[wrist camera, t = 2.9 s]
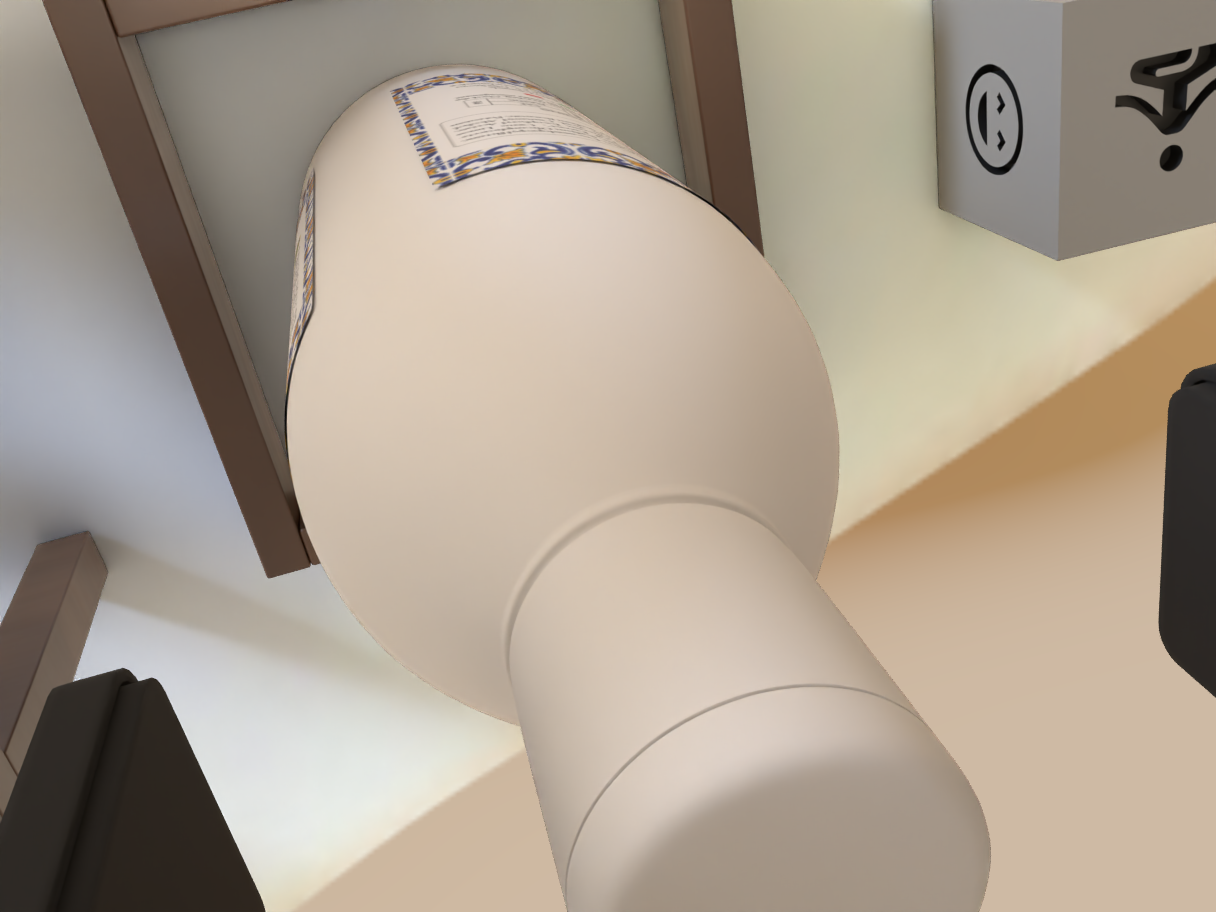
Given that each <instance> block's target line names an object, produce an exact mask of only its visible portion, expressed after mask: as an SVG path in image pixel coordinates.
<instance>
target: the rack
mask: <svg viewBox="0 0 1216 912" xmlns="http://www.w3.org/2000/svg"><path fill="white" fill-rule="evenodd" d="M287 1H291V0H42V2H43V4H44V7H45V9H46V12H47V14H48V17H49V20H50V22H51V25H52V27H53V30H54V32H55V35H56V38H57V40H58V43H59V45H60V48H61V50H62V53H63V56H64V58H65V61H66V63H67V66H68V68H69V71H70V73H71V76H72V79H73V81H74V84H75V86H76V89H77V91H78V94H79V97H80V99H81V102H82V104H83V107H84V109H85V112H86V114H87V117H88V120H89V122H90V125H91V127H92V130H93V132H94V135H95V138H96V140H97V143H98V145H99V148H100V150H101V153H102V155H103V158H104V161H105V163H106V166H107V168H108V171H109V173H110V176H111V179H112V181H113V184H114V186H115V189H116V191H117V194H118V196H119V199H120V202H121V204H122V207H123V209H124V212H125V214H126V217H127V220H128V222H129V225H130V227H131V230H132V232H133V235H134V238H135V240H136V243H137V245H138V248H139V250H140V253H141V255H142V258H143V261H144V263H145V266H146V268H147V271H148V273H149V276H150V279H151V281H152V284H153V286H154V289H155V291H156V294H157V296H158V299H159V302H160V304H161V307H162V309H163V312H164V314H165V317H166V320H167V322H168V325H169V327H170V330H171V332H172V335H173V337H174V340H175V343H176V345H177V348H178V350H179V353H180V355H181V358H182V361H183V363H184V366H185V368H186V371H187V373H188V376H189V378H190V381H191V384H192V386H193V389H194V391H195V394H196V396H197V399H198V402H199V404H200V407H201V409H202V412H203V414H204V417H205V420H206V422H207V425H208V427H209V430H210V432H211V435H212V437H213V440H214V443H215V445H216V448H217V450H218V453H219V455H220V458H221V461H222V463H223V466H224V468H225V471H226V473H227V476H228V478H229V481H230V484H231V486H232V489H233V491H234V494H235V496H236V499H237V502H238V504H239V507H240V509H241V512H242V514H243V517H244V519H245V522H246V525H247V527H248V530H249V532H250V535H251V537H252V540H253V543H254V545H255V548H256V550H257V553H258V555H259V558H260V560H261V563H262V566H263V568H264V571H265V573H266V576H267V577H268V578H273V577H276V576H280V575H283V574H287V573H290V572H294V571H298V570H301V569H305V568H308V567H310V566H311V564H312V565H317V564H320V563H321V562H320V560H319V558H318V556H317V554H316V552H315V549H314V547H313V545H312V543H311V540H310V538H309V535H308V533H307V530H306V527H305V524H304V522H303V518H302V515H301V512H300V509H299V505H298V502H297V498H296V494H295V490H294V486H293V482H292V478H291V474H290V470H289V465H288V460H287V457H286V454H285V452H284V449H283V446H282V443H281V441H280V438H279V435H278V432H277V429H276V427H275V424H274V421H273V418H272V416H271V413H270V410H269V407H268V404H267V402H266V399H265V396H264V393H263V390H262V388H261V385H260V382H259V379H258V377H257V374H256V371H255V368H254V365H253V363H252V360H251V357H250V354H249V352H248V349H247V346H246V343H245V340H244V338H243V335H242V332H241V329H240V327H239V324H238V321H237V318H236V315H235V313H234V310H233V307H232V304H231V301H230V299H229V296H228V293H227V290H226V288H225V285H224V282H223V279H222V276H221V274H220V271H219V268H218V265H217V263H216V260H215V257H214V254H213V251H212V249H211V246H210V243H209V240H208V238H207V235H206V232H205V229H204V226H203V224H202V221H201V218H200V215H199V213H198V210H197V207H196V204H195V201H194V199H193V196H192V193H191V190H190V187H189V185H188V182H187V179H186V176H185V174H184V171H183V168H182V165H181V162H180V160H179V157H178V154H177V151H176V149H175V146H174V143H173V140H172V137H171V135H170V132H169V129H168V126H167V124H166V121H165V118H164V115H163V112H162V110H161V107H160V104H159V101H158V98H157V96H156V93H155V90H154V87H153V85H152V82H151V79H150V76H149V73H148V71H147V68H146V65H145V62H144V60H143V57H142V54H141V51H140V48H139V46H138V43H137V40H136V37H135V35H136V34H140V33H145V32H149V31H154V30H159V29H163V28H168V27H172V26H177V25H181V24H186V23H191V22H195V21H200V20H204V19H209V18H213V17H218V16H223V15H227V14H232V13H236V12H241V11H246V10H250V9H255V8H259V7H264V6H268V5H273V4H278V3H282V2H287ZM658 1H659V8H660V14H661V21H662V27H663V33H664V40H665V46H666V53H667V59H668V66H669V72H670V78H671V85H672V91H673V98H674V104H675V111H676V117H677V123H678V130H679V136H680V143H681V149H682V156H683V162H684V168H685V175H686V181H687V187H688V188H690V189H691V190H693V191H694V192H696V193H697V194H698V195H700V196H701V197H703V198H704V199H706V200H707V201H709V202H710V203H711V204H713V205H714V206H716V207H717V208H718V209H719V210H721V211H722V212H723V213H724V214H726V215H727V216H728V217H729V218H730V219H731V220H732V221H734V222H735V223H736V224H737V225H738V226H739V227H740V228H741V229H742V231H743V232H744V233H745V234H746V235H747V236H748V237H749V239H750V240H751V241H752V242H753V244H754V245H755V246H756V247H757V249H758V250H759V251H760V253H761V254H762V256H763V257H764V250H763V243H762V235H761V227H760V219H759V211H758V203H757V196H756V188H755V180H754V172H753V164H752V156H751V149H750V141H749V133H748V125H747V117H746V110H745V102H744V94H743V86H742V78H741V70H740V63H739V55H738V47H737V39H736V31H735V23H734V16H733V8H732V0H658ZM107 575H108V571H107V569H106V567H105V564H104V562H103V560H102V558H101V556H100V554H99V552H98V549H97V547H96V545H95V543H94V541H93V539H92V537H91V534H90V532H89V531H86V532H82V533H79V534H75V535H71V536H68V537H64V538H60V539H57V540H53V541H49V542H45V543H42V544H38V545H37V546H36V548H35V550H34V553H33V555H32V557H31V559H30V561H29V563H28V566H27V568H26V570H25V572H24V574H23V577H22V579H21V581H20V583H19V585H18V588H17V590H16V592H15V594H14V596H13V599H12V601H11V603H10V605H9V607H8V610H7V612H6V614H5V616H4V618H3V621H2V623H1V625H0V822H1V820H2V817H3V814H4V812H5V809H6V806H7V804H8V801H9V798H10V796H11V793H12V790H13V788H14V785H15V782H16V780H17V777H18V774H19V772H20V769H21V766H22V764H23V761H24V758H25V756H26V753H27V750H28V748H29V745H30V742H31V740H32V737H33V734H34V732H35V729H36V726H37V724H38V721H39V718H40V716H41V713H42V710H43V708H44V705H45V702H46V700H47V697H48V695H49V693H50V692H51V690H52V689H53V688H55V687H57V686H60V685H64V684H67V683H71V682H73V680H74V677H75V673H76V670H77V667H78V664H79V661H80V658H81V655H82V652H83V649H84V646H85V643H86V640H87V636H88V633H89V630H90V627H91V624H92V621H93V618H94V615H95V612H96V609H97V606H98V603H99V600H100V596H101V593H102V590H103V587H104V584H105V581H106V578H107Z"/></svg>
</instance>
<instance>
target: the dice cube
mask: <svg viewBox="0 0 1216 912" xmlns="http://www.w3.org/2000/svg"><path fill="white" fill-rule="evenodd" d="M933 16H934V49H935V82H936V115H937V149H938V182H939V208H940V209H942V210H944V211H947V212H949V213H951V214H953V215H956V216H958V217H960V218H962V219H965V220H967V221H969V222H971V223H974V224H976V225H978V226H980V227H983V228H985V229H987V230H989V231H992V232H994V233H996V234H998V235H1001V236H1003V237H1005V238H1007V239H1010V240H1012V241H1014V242H1016V243H1019V244H1021V245H1023V246H1025V247H1028V248H1030V249H1032V250H1034V251H1037V252H1039V253H1041V254H1043V255H1046V256H1048V257H1050V258H1052V259H1055V260H1057V261H1060V260H1064V259H1068V258H1072V257H1076V256H1080V255H1084V254H1088V253H1093V252H1097V251H1101V250H1105V249H1109V248H1113V247H1117V246H1121V245H1125V244H1129V243H1133V242H1137V241H1141V240H1146V239H1150V238H1154V237H1158V236H1162V235H1166V234H1170V233H1174V232H1178V231H1182V230H1186V229H1190V228H1195V227H1199V226H1203V225H1207V224H1211V223H1215V222H1216V0H933Z"/></svg>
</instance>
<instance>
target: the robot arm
mask: <svg viewBox="0 0 1216 912" xmlns="http://www.w3.org/2000/svg"><path fill="white" fill-rule="evenodd" d="M1161 558H1162V559H1161V580H1160V601H1159V631H1160V636H1161V639H1162V642H1163V644H1164V646H1165V648H1166V650H1167V652H1168V653H1169V655H1170V656H1171V658H1172V659H1173V660H1174V661H1175V662H1176V663H1177V664H1178V665H1179V666H1180V667H1181V668H1183V669H1184V670H1185V671H1186V672H1187V673H1188V674H1189V675H1191V676H1192V677H1193V678H1194V679H1195V680H1196V681H1197V682H1199V683H1200V684H1201V685H1202V686H1203V687H1204V688H1205V689H1207V690H1208V691H1209V692H1210V693H1211V694H1212V695H1213V696H1215V697H1216V364H1212V365H1209V366H1205V367H1201V368H1198V369H1194V370H1192V371H1191V372H1190V373H1189V374H1187V375H1186V377H1185V379H1184V380H1183V382H1182V384H1181V389H1180V390H1178V391H1176V392H1175V393H1174V394H1173V395H1172V397H1171V399H1170V402H1169V408H1168V425H1167V448H1166V470H1165V491H1164V513H1163V535H1162V557H1161ZM0 912H266V911H265V908H264V904H263V902H262V899H261V896H260V894H259V892H258V890H257V888H256V886H255V883H254V881H253V879H252V877H251V875H250V873H249V871H248V868H247V866H246V864H245V862H244V860H243V858H242V856H241V853H240V851H239V849H238V847H237V845H236V843H235V840H234V838H233V836H232V834H231V832H230V830H229V828H228V825H227V823H226V821H225V819H224V817H223V815H222V813H221V810H220V808H219V806H218V804H217V802H216V800H215V798H214V795H213V793H212V791H211V789H210V787H209V785H208V783H207V780H206V778H205V776H204V774H203V772H202V770H201V767H200V765H199V763H198V761H197V759H196V757H195V755H194V752H193V750H192V748H191V746H190V744H189V742H188V740H187V737H186V735H185V733H184V731H183V729H182V727H181V725H180V722H179V720H178V718H177V716H176V714H175V712H174V710H173V707H172V705H171V703H170V701H169V699H168V697H167V694H166V692H165V691H164V689H163V687H162V685H161V684H160V683H159V682H158V680H157V679H154V678H149V679H145V680H142V681H138V680H137V679H136V677H135V676H134V675H133V674H132V673H131V672H130V671H129V670H127V669H125V668H121V669H117V670H114V671H110V672H107V673H103V674H99V675H96V676H92V677H89V678H85V679H82V680H78V681H74V682H71V683H67V684H64V685H60V686H57V687H55V688H53V689H52V690H51V692H50V693H49V695H48V697H47V700H46V702H45V705H44V708H43V710H42V713H41V716H40V718H39V721H38V724H37V726H36V729H35V732H34V734H33V737H32V740H31V742H30V745H29V748H28V750H27V753H26V756H25V758H24V761H23V764H22V766H21V769H20V772H19V774H18V777H17V780H16V782H15V785H14V788H13V790H12V793H11V796H10V798H9V801H8V804H7V806H6V809H5V812H4V814H3V817H2V820H1V822H0Z"/></svg>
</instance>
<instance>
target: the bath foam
mask: <svg viewBox="0 0 1216 912" xmlns="http://www.w3.org/2000/svg"><path fill="white" fill-rule="evenodd" d="M285 443H286V452H287V459H288V465H289V470H290V474H291V478H292V482H293V486H294V490H295V494H296V498H297V502H298V505H299V509H300V512H301V515H302V518H303V522H304V524H305V527H306V530H307V533H308V535H309V538H310V540H311V543H312V545H313V547H314V549H315V552H316V554H317V556H318V558H319V560H320V562H321V564H322V567H323V568H324V570H325V572H326V574H327V576H328V578H329V579H330V581H331V582H332V584H333V586H334V587H335V589H336V590H337V592H338V594H339V595H340V597H341V598H342V600H343V601H344V603H345V604H346V606H347V607H348V609H349V610H350V611H351V613H352V614H353V615H354V616H355V618H356V619H357V620H358V621H359V623H360V624H361V625H362V626H363V627H364V628H365V629H366V630H367V632H368V633H369V634H370V635H371V636H372V637H373V638H374V639H375V640H376V642H377V643H378V644H379V645H380V646H381V647H382V648H383V649H384V650H385V651H386V652H388V653H389V654H390V655H391V656H392V657H393V658H394V659H395V660H397V661H398V662H399V663H400V664H402V665H403V666H404V667H406V668H407V669H408V670H410V671H411V672H412V673H414V674H415V675H416V676H418V677H419V678H420V679H422V680H423V681H424V682H426V683H427V684H429V685H431V686H432V687H434V688H435V689H437V690H439V691H440V692H442V693H444V694H446V695H448V696H449V697H451V698H453V699H455V700H457V701H459V702H461V703H463V704H465V705H467V706H469V707H471V708H473V709H475V710H477V711H480V712H482V713H485V714H487V715H490V716H492V717H495V718H497V719H500V720H503V721H506V722H508V723H511V724H514V725H518V726H521V731H522V735H523V739H524V743H525V747H526V751H527V755H528V759H529V763H530V768H531V771H532V775H533V779H534V783H535V787H536V791H537V795H538V799H539V803H540V807H541V810H542V815H543V819H544V822H545V826H546V830H547V834H548V838H549V842H550V846H551V850H552V854H553V858H554V861H555V865H556V869H557V873H558V877H559V881H560V885H561V889H562V893H563V897H564V900H565V904H566V908H567V912H979V911H980V908H981V905H982V902H983V899H984V895H985V891H986V887H987V883H988V878H989V871H990V862H991V847H990V838H989V832H988V828H987V825H986V821H985V817H984V814H983V810H982V808H981V805H980V803H979V800H978V798H977V796H976V794H975V792H974V791H973V789H972V787H971V785H970V783H969V781H968V780H967V778H966V777H965V775H964V774H963V772H962V770H961V769H960V767H959V766H958V765H957V763H956V762H955V760H954V759H953V758H952V756H951V755H950V754H949V753H948V751H947V750H946V748H945V747H944V746H943V745H942V743H941V742H940V741H939V739H938V738H937V737H936V735H935V734H934V733H933V732H932V730H931V729H930V728H929V726H928V725H927V724H926V723H925V721H924V720H923V719H922V717H921V716H920V715H919V713H918V712H917V711H916V710H915V708H914V707H913V705H912V704H911V703H910V702H909V700H908V699H907V698H906V696H905V695H904V694H903V692H902V691H901V690H900V689H899V687H898V686H897V685H896V683H895V682H894V681H893V679H892V678H891V677H890V676H889V674H888V673H887V672H886V670H885V669H884V668H883V667H882V665H881V664H880V663H879V661H878V660H877V659H876V657H875V656H874V655H873V653H872V652H871V651H870V650H869V648H868V647H867V646H866V644H865V643H864V642H863V640H862V639H861V638H860V636H859V635H858V634H857V633H856V631H855V630H854V629H853V627H852V626H851V625H850V624H849V622H848V621H847V620H846V618H845V617H844V616H843V615H842V613H841V612H840V611H839V609H838V608H837V607H836V605H835V604H834V603H833V602H832V601H831V599H830V598H829V596H828V595H827V594H826V593H825V591H824V590H823V589H822V588H821V586H820V585H819V584H818V583H817V581H816V579H817V576H818V573H819V571H820V567H821V564H822V561H823V558H824V554H825V551H826V547H827V544H828V541H829V537H830V533H831V528H832V523H833V517H834V512H835V506H836V500H837V492H838V480H839V434H838V424H837V417H836V411H835V405H834V400H833V394H832V389H831V385H830V381H829V377H828V374H827V371H826V367H825V364H824V362H823V359H822V356H821V353H820V350H819V348H818V345H817V343H816V340H815V338H814V335H813V333H812V331H811V329H810V327H809V325H808V323H807V321H806V319H805V317H804V316H803V314H802V312H801V310H800V308H799V306H798V305H797V303H796V301H795V300H794V298H793V296H792V295H791V293H790V292H789V290H788V289H787V288H786V286H785V285H784V283H783V282H782V280H781V279H780V278H779V276H778V275H777V274H776V272H775V271H774V270H773V268H772V267H771V266H770V264H769V263H768V262H767V261H766V259H765V258H764V257H763V256H762V254H761V253H760V251H759V250H758V249H757V247H756V246H755V245H754V244H753V242H752V241H751V240H750V239H749V237H748V236H747V235H746V234H745V233H744V232H743V231H742V229H741V228H740V227H739V226H738V225H737V224H736V223H735V222H734V221H732V220H731V219H730V218H729V217H728V216H727V215H726V214H724V213H723V212H722V211H721V210H719V209H718V208H717V207H716V206H714V205H713V204H711V203H710V202H709V201H707V200H706V199H704V198H703V197H701V196H700V195H698V194H697V193H696V192H694V191H693V190H691V189H690V188H688V187H687V186H685V185H684V184H683V183H681V182H680V181H678V180H677V179H675V178H674V177H673V176H671V175H670V174H668V173H667V172H665V171H664V170H662V169H661V168H660V167H658V166H657V165H655V164H654V163H652V162H651V161H649V160H648V159H647V158H645V157H644V156H642V155H641V154H639V153H638V152H637V151H635V150H634V149H632V148H631V147H629V146H628V145H626V144H625V143H624V142H622V141H621V140H619V139H618V138H616V137H615V136H613V135H612V134H611V133H609V132H608V131H606V130H605V129H603V128H602V127H601V126H599V125H598V124H596V123H595V122H593V121H592V120H590V119H589V118H588V117H586V116H585V115H583V114H582V113H580V112H579V111H577V110H576V109H575V108H573V107H572V106H570V105H569V104H567V103H566V102H564V101H563V100H561V99H560V98H558V97H556V96H554V95H553V94H551V93H550V92H548V91H547V90H545V89H543V88H542V87H540V86H538V85H536V84H535V83H533V82H531V81H529V80H527V79H524V78H522V77H520V76H517V75H515V74H512V73H509V72H506V71H502V70H498V69H495V68H490V67H485V66H478V65H466V64H449V65H438V66H431V67H426V68H421V69H417V70H414V71H410V72H407V73H404V74H402V75H399V76H396V77H394V78H392V79H390V80H388V81H386V82H384V83H382V84H380V85H378V86H377V87H375V88H373V89H372V90H370V91H369V92H367V93H366V94H364V95H363V96H362V97H360V98H359V99H358V100H357V101H355V102H354V103H353V104H352V105H351V106H350V107H349V108H347V109H346V110H345V111H344V112H343V113H342V115H341V116H340V117H339V118H338V119H337V120H336V121H335V123H334V124H333V125H332V126H331V128H330V129H329V130H328V132H327V133H326V135H325V136H324V138H323V139H322V141H321V143H320V144H319V146H318V148H317V150H316V152H315V154H314V156H313V158H312V160H311V163H310V165H309V168H308V171H307V174H306V177H305V180H304V184H303V188H302V193H301V198H300V204H299V214H298V221H297V230H296V245H295V260H294V276H293V292H292V307H291V323H290V338H289V354H288V369H287V385H286V400H285Z"/></svg>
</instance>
